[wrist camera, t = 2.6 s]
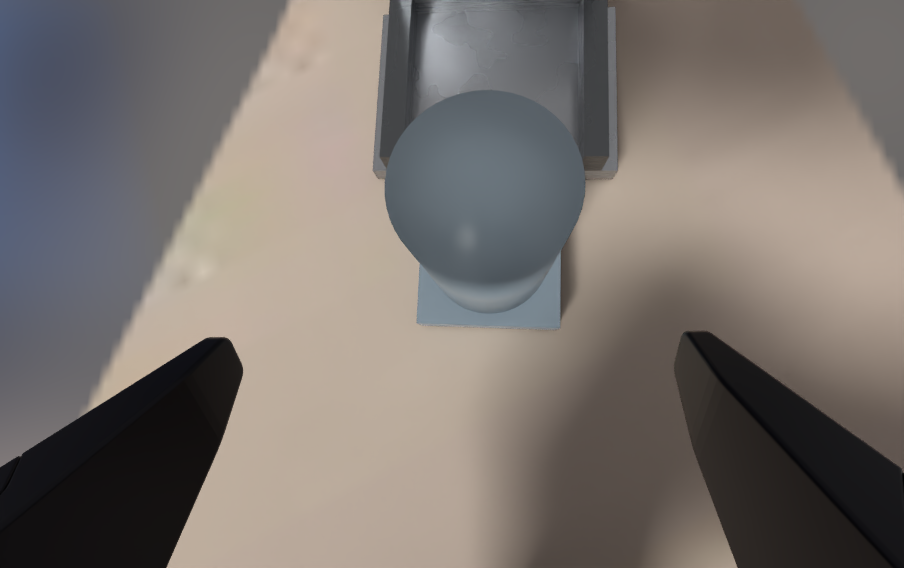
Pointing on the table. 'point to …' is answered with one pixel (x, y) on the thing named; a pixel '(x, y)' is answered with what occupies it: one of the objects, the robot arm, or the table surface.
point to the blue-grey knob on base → (486, 209)
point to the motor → (502, 66)
